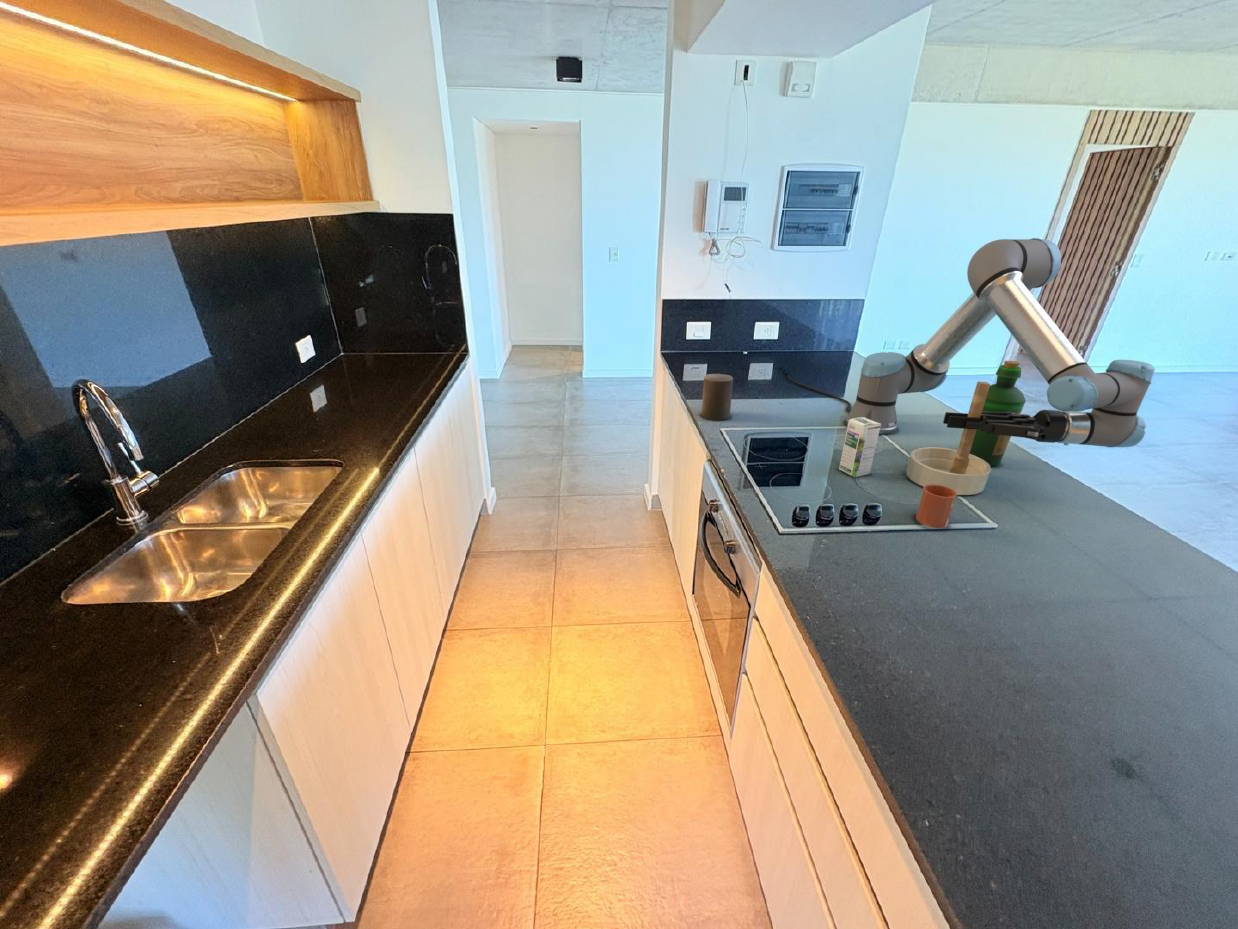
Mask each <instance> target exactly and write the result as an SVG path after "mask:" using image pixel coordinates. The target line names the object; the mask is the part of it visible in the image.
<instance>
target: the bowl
mask: <svg viewBox="0 0 1238 929" xmlns="http://www.w3.org/2000/svg"><path fill="white" fill-rule="evenodd" d="M957 451H958V449H954V448H948V447H939V446H938V447H935V446H925V447H919V448H916V449H913V450H912V451H911V452H910V453H909V457H908V461H907V466H906V470H905V475H906V476H907V477H908V479H909V480H910V481H911V482H913V483H915V484H917V485H919V486H921V487H923V488H924V486H926V485H931V484H934V485H941V486H945V487H948V488H950V489H952V490H954V491H955V492H956V495H957V496H971V495H977V494H980V493H982V492H984V490H985V489H986V486H987V483H988V481H989V478H990V474H991V471H992V466H990V465H989V464H988V463H987V462H986V461H984V460H983V459H981V458H979V457H977V456H974V455H972V454H969V457H968V458H969V459H970V460H969V463H968V467H967V470H966V473H965V474H955V473H949V471H950V468H951V464H952V461H953V457H957V456H956V454H957Z"/></svg>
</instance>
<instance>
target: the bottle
mask: <svg viewBox="0 0 1238 929" xmlns="http://www.w3.org/2000/svg"><path fill="white" fill-rule="evenodd" d="M1020 364H1021V363H1020V362H1019V361H1016V360H1004V363H1003V364H1000V365H999V366H998V368H997V370H996V372H995V376H997V377H996V382H995V383H992V384H990V387H989V390H988V393H987V397H986V400H985V403H984V407H983V410H982V411H1000V412H1007V411H1015V412H1016V414H1015V415H1021V414H1022V411H1023V408H1024V406H1025V404H1026V401H1027V400H1026V398H1025V395H1024V393H1023V392H1022V391H1021V389H1019V388H1018V387H1017V386H1016V384H1017V382H1018V379H1020V378H1022V367H1020ZM985 432H986V431H981V430H979V429H978V430H976V433H975V437H974V440H973V443H972V447H971V450H970V453H969V454H972V455H974V456H977V457H979V458H981V459H983V460H984V461H986V462H987V463H988V464H989V465H990V467H996V466H998V465H1000V464H1001V463H1002V460H1003V457H1004V455H1005V452H1006V450H1007V448H1008V445H1009V443H1010V441H1011V438H1012V436H1004V435H995V434H987V433H985Z"/></svg>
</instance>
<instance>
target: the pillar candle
mask: <svg viewBox="0 0 1238 929" xmlns="http://www.w3.org/2000/svg"><path fill="white" fill-rule="evenodd" d="M733 383H734V377H733V376H732V375H729V374H723V373H709V374H706V375H704V376H703V387H702V388H703V389H702V403H701V413H700V415H701V416H702V418H704V419H705V420H710V421H718V422H719V421H720V422H721V421H725V420H728V419H730V417H731V408H732V406H731V405H732V395H733V386H734V384H733Z"/></svg>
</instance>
